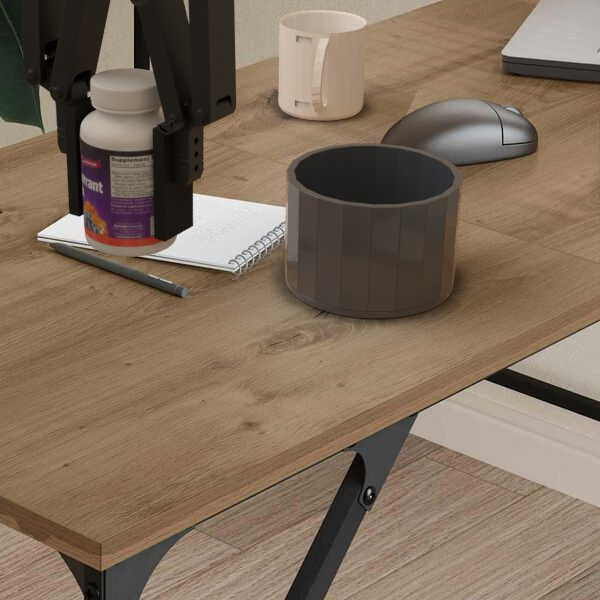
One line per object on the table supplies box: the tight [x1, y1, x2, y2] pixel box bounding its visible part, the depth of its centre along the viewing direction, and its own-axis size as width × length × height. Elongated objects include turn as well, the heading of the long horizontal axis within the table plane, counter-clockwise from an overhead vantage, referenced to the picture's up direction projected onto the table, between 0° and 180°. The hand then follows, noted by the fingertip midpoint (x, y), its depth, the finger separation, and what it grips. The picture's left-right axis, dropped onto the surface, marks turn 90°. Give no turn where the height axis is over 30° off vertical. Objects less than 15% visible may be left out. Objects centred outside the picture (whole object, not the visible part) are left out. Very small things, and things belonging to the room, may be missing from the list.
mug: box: [277, 9, 368, 122], centre depth 139 cm, size 12×9×9 cm
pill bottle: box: [80, 67, 178, 258], centre depth 75 cm, size 5×5×10 cm
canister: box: [284, 142, 464, 320], centre depth 103 cm, size 13×13×9 cm
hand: (130, 219), depth 77 cm, fingers closed on pill bottle, 5 cm apart
